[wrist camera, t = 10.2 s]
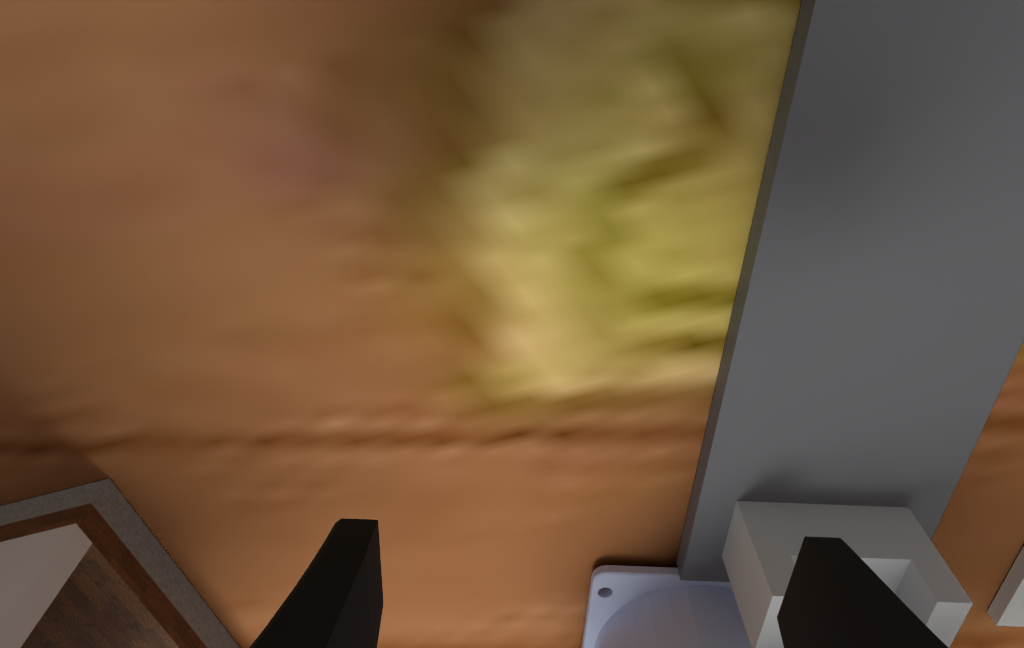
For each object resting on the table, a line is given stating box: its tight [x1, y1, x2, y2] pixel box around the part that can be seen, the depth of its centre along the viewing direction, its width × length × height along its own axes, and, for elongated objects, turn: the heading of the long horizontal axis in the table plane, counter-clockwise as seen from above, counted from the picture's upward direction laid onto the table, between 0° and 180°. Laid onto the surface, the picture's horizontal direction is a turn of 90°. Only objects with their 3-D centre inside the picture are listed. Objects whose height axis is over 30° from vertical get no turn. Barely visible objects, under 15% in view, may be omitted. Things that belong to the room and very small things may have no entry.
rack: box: [676, 0, 1024, 648], centre depth 17 cm, size 24×8×4 cm, turn 177°
